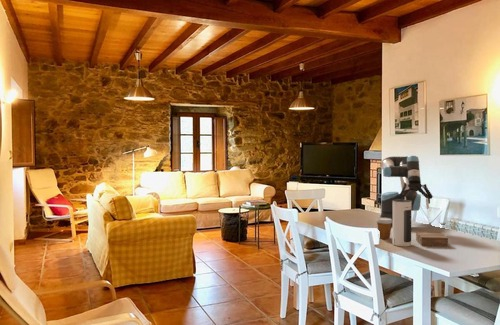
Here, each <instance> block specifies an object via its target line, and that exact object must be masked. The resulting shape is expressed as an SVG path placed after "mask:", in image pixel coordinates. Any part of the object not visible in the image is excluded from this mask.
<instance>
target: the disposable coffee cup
mask: <svg viewBox="0 0 500 325" xmlns="http://www.w3.org/2000/svg"><path fill="white" fill-rule="evenodd" d="M392 222H393V221H392V219H391V218H380V217H377V219H376V223H377V224H376V225H377V231H378V230H379V231H380V238H379V239H380V240H390V237H391V231H392V226H391V225H392Z"/></svg>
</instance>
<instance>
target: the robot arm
mask: <svg viewBox="0 0 500 325" xmlns="http://www.w3.org/2000/svg"><path fill="white" fill-rule="evenodd" d="M380 168H381V170H382V176H383V177H384V178H399V180H400V187H401V191H400V193H399V192H398V191H387V192H382V194H381V196H380V201H381V202H380V203H381V204H380V215H379V218H391V219H392V221H393V200H397V199H402V200H410V201H412V202H411V212H416V211H419V210H420V209H421V200H422V197H421V196H423V197H424V198H426V199H425V204H426V209H427V210H428V209H429V208H430V203H431V199H432V198H434V197H433V195H432V193H431V192H430V190H429V188H428V187H427V184H426V183H424V184H422V181H421V173H420V160H419V157H418V156H416V155H409V156H388V157H385V158H383V159H382V160H381V162H380ZM418 192H419V193H420V194H419V193H418ZM421 194H422V195H421ZM391 228H393V222H392V225H391Z"/></svg>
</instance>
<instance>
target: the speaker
mask: <svg viewBox="0 0 500 325" xmlns="http://www.w3.org/2000/svg"><path fill="white" fill-rule="evenodd" d="M411 202H412V201H410V200H402V199H397V200H393V227H392V245H393V246H396V247H407V248H408V247H411V246H412V211H411Z"/></svg>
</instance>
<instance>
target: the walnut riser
mask: <svg viewBox="0 0 500 325" xmlns="http://www.w3.org/2000/svg"><path fill="white" fill-rule="evenodd" d="M415 240H416V242H417V243H418V244H420V246H421V247H440V248H448V247H449V237H447V236H446V235H445V234H443V233H442V232H429V231H428V232H426V231H425V232H424V231H423V232H422V231H416V232H415Z"/></svg>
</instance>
